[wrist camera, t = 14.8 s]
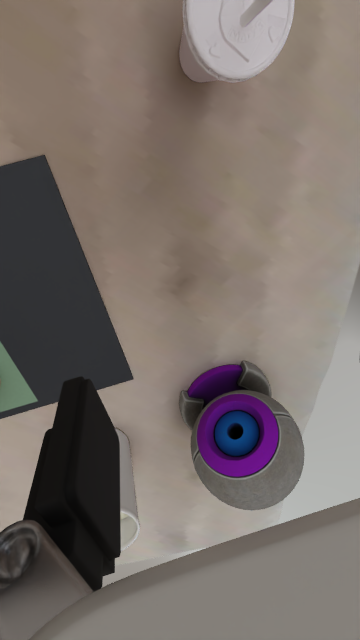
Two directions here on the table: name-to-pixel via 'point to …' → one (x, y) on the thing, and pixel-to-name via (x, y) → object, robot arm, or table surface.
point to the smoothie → (232, 37)
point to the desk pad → (47, 297)
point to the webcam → (242, 437)
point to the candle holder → (127, 495)
